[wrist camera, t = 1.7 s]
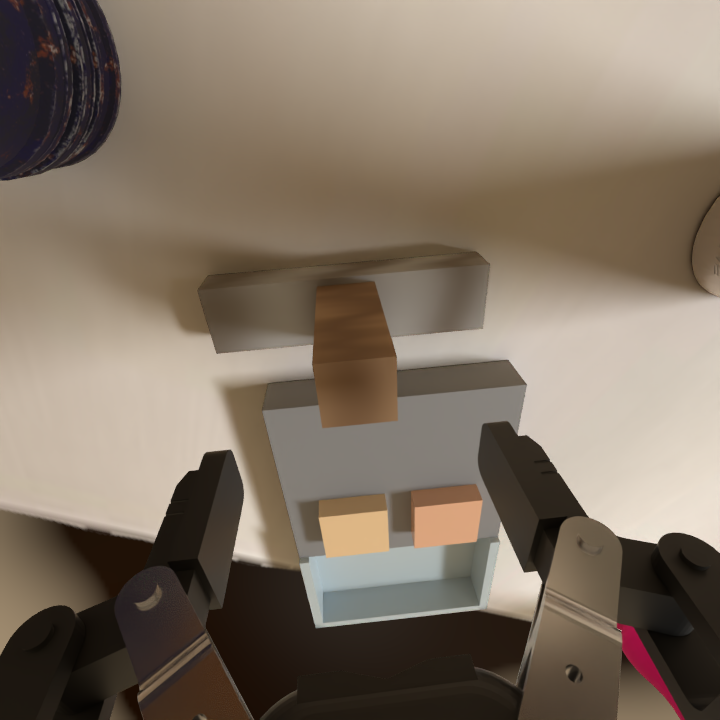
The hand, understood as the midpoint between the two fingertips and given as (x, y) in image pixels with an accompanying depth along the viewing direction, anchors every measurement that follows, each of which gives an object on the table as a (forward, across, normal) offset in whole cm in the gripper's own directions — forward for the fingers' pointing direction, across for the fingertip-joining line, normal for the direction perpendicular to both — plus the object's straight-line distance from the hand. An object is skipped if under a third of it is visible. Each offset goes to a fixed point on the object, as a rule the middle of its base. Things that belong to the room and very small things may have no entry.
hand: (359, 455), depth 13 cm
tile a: (+11, -6, +18) cm, 22 cm away
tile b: (+11, +1, +18) cm, 21 cm away
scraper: (+14, 0, 0) cm, 14 cm away
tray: (+14, -3, +28) cm, 31 cm away
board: (+14, -3, +14) cm, 20 cm away
